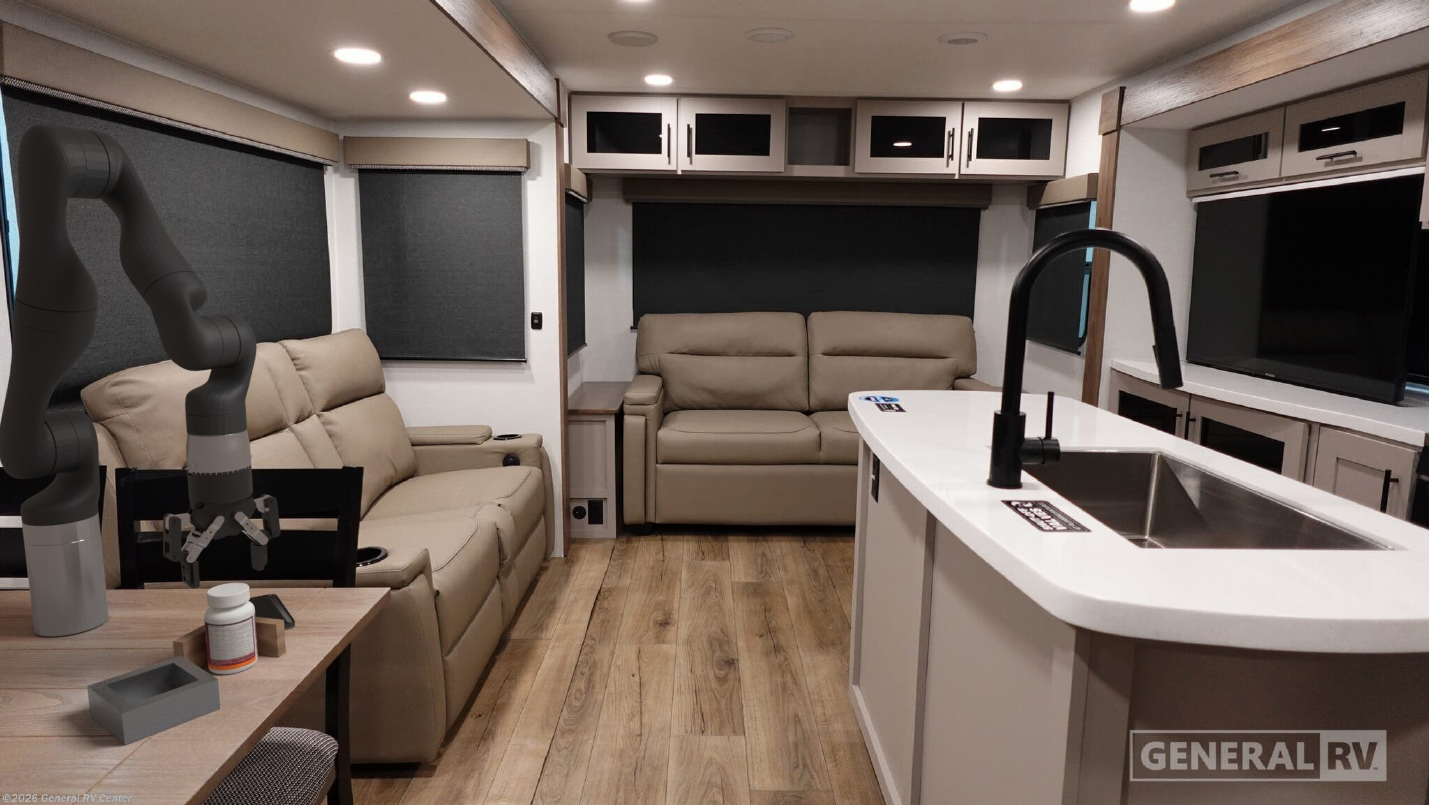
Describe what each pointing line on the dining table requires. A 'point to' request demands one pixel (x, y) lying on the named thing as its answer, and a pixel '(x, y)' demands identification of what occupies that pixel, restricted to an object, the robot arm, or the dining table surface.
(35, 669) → the dining table surface
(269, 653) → the v block
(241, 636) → the pill bottle
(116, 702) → the bore block
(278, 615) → the phone
